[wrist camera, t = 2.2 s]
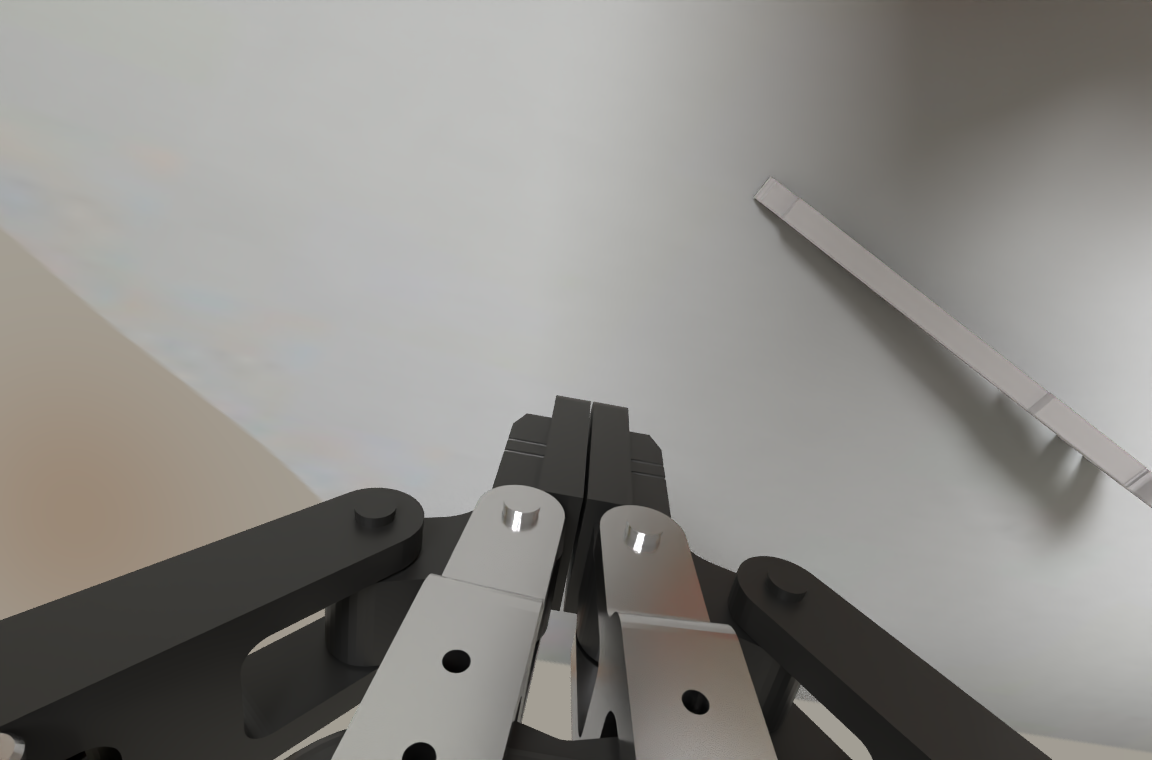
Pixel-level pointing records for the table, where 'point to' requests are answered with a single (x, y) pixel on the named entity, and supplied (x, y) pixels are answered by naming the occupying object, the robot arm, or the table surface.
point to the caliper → (959, 340)
